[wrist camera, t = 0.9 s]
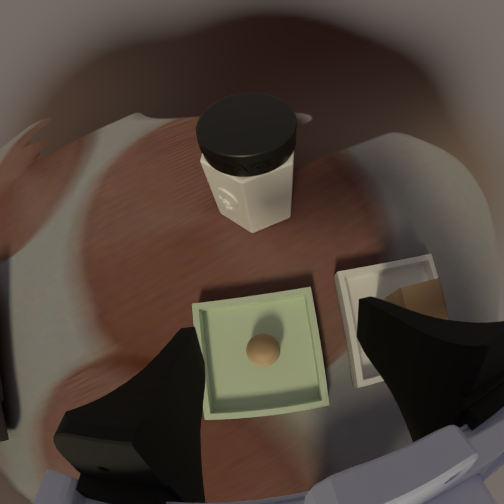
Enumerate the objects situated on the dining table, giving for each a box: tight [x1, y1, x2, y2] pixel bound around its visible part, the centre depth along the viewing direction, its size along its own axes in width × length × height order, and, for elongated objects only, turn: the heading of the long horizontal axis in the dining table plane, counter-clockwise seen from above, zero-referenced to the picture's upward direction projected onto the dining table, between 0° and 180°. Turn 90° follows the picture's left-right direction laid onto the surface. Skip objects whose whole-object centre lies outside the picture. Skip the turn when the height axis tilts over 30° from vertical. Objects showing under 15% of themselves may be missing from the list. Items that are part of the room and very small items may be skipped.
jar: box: [196, 93, 296, 233], centre depth 26 cm, size 9×8×12 cm
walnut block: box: [382, 278, 449, 320], centre depth 21 cm, size 4×4×6 cm
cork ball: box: [246, 334, 280, 367], centre depth 23 cm, size 3×3×3 cm
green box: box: [192, 287, 329, 420], centre depth 24 cm, size 11×11×2 cm
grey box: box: [334, 254, 438, 388], centre depth 24 cm, size 11×11×2 cm
